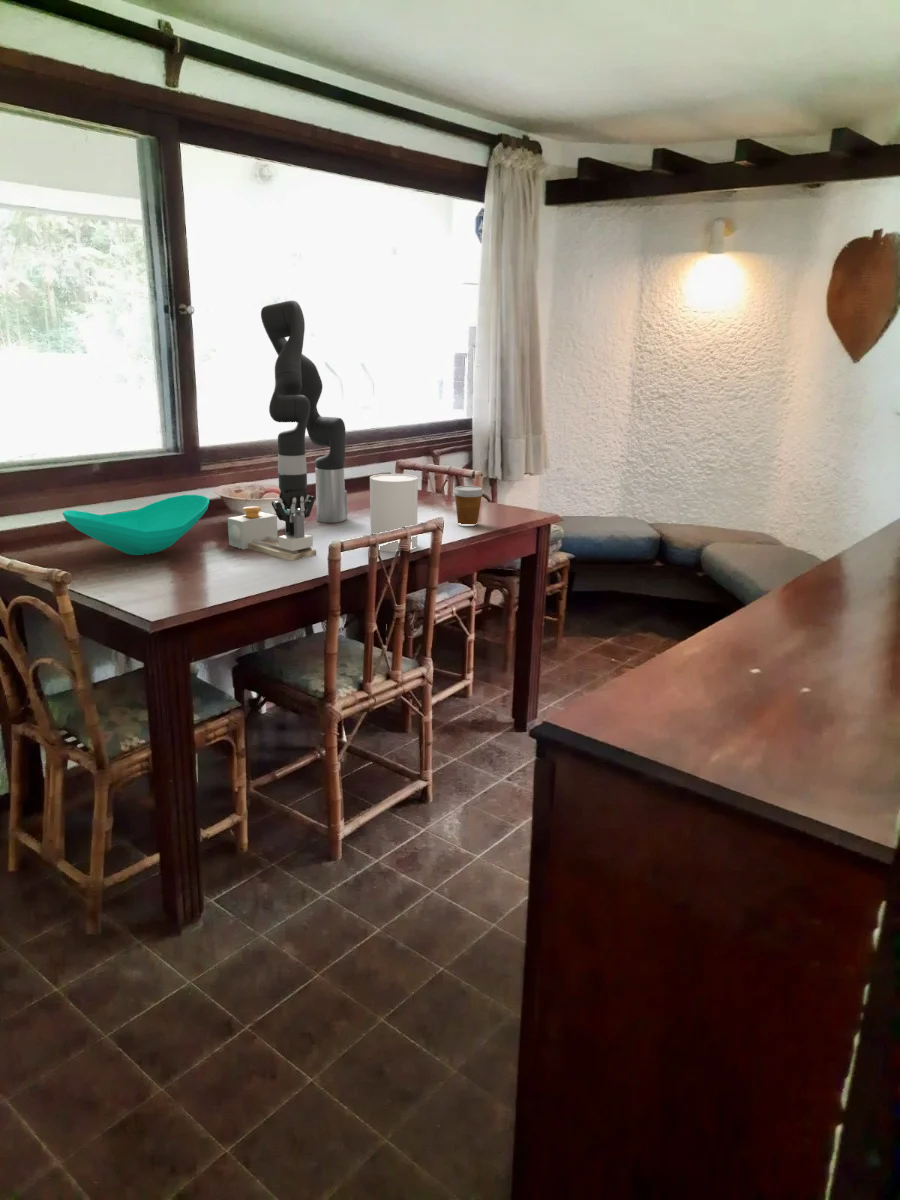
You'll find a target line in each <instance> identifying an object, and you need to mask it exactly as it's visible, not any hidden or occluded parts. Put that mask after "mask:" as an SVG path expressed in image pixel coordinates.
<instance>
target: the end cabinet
mask: <svg viewBox="0 0 900 1200" xmlns="http://www.w3.org/2000/svg"><path fill="white" fill-rule="evenodd" d="M258 513H259V518H254V519H248V518H246V514H243V515H236V516H231V517H226V518H227V519H226V520H227V534H228V545H229V546H230V545H231V546H230V547H235V548H237V547H238V548H237V549H240V548H241V550H249V549H248V543H253V541H252V540H254V539H256V540H259V541H262V540H267V537H273V538H277V539H278V536H279V535H278V516H277V514H272V513H268V512H263V511H258Z"/></svg>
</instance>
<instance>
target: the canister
mask: <svg viewBox="0 0 900 1200" xmlns="http://www.w3.org/2000/svg"><path fill="white" fill-rule="evenodd" d="M418 479H419V478H418V476H416V475H413V474H407V473H406V474H405V473H381V474H374V475H371V476H369V503H370V504H369V505H370V506H369V511H370V513H369V515H370V516H369V519H370V521H369V522H370V527H369V528H370V535H371V534H373V533H380V532H385V531H390V530H394V529H398V528H401V527H405V526H410V525H416V524H417V525H418V490H419V489H418V488H419V487H418V482H419V481H418ZM411 542H412V548H414V547H416V546H417V547H418V535H417V536H416V537H412V539H411ZM398 544H399V543H398V541H395V542H392V543H388V544H386V545H383V546H380V552H390V553H397V552H396V550H397V547H398Z"/></svg>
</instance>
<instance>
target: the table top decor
mask: <svg viewBox="0 0 900 1200" xmlns="http://www.w3.org/2000/svg"><path fill="white" fill-rule="evenodd" d="M209 504H210V499H209V497H207V496H204V495H200V494H199V495H198V494H183V495H177V496H171V497H168V498H165V499H161V500H159V501H154V502H153V503H149V504H147V505H145V506H143V507H141V508H138V509H135V510H127V511H121V512H114V513H106V514H96V513H92V512H89V511H88V512H86V511H80V510H65V511H63V512H62V515H63V517H64V519H65V522H67V523H68V524H70V525H71V526H72V527H73V528H75V529H76V530H77V531H79V532H81V533H82V534H84V535H86V536H89V537H90V538H92V539H95V540H96V541H98V542H101V543H103V544H104V545H106V546H109V547H111V548H113V549H116V550H117V551H120V552H122V553H124V554H127V555H129V556H130V555H131V556H144V554H146V555H151V553H152V554H155V553H159V552H162V551H164V550H166V549H168V548H170V547H171V546H173V545H174V544H175V543H176V542H177V541H178V540H179V539H181V538H182V537H184V535H185V534H187V532H189V531H190V530H191V529H192V528H193V527H194V526H195V525H196V524H197V523H198V522H199V521H200V519H201V518H202V517H203V516H204V515H205V513H206V512H207V510H208V508H209Z"/></svg>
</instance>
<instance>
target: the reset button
mask: <svg viewBox="0 0 900 1200" xmlns="http://www.w3.org/2000/svg"><path fill="white" fill-rule="evenodd" d="M242 511H243V512H245V515H246V518H248V519H254V518H259V512H261V511H262V508H261V506H245V507H243V508H242Z"/></svg>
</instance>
